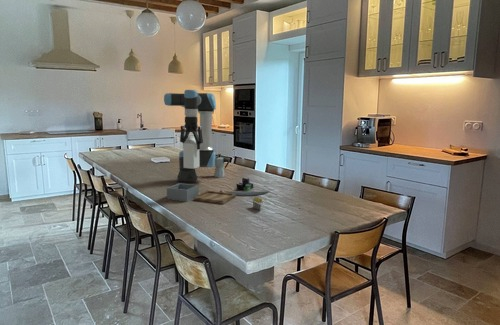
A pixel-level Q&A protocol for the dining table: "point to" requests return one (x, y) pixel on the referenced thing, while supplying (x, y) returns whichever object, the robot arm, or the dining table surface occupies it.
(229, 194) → the tray
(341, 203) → the dining table surface
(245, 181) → the mineral sample
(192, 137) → the milk carton
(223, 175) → the coffee maker
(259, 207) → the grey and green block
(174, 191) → the bin
